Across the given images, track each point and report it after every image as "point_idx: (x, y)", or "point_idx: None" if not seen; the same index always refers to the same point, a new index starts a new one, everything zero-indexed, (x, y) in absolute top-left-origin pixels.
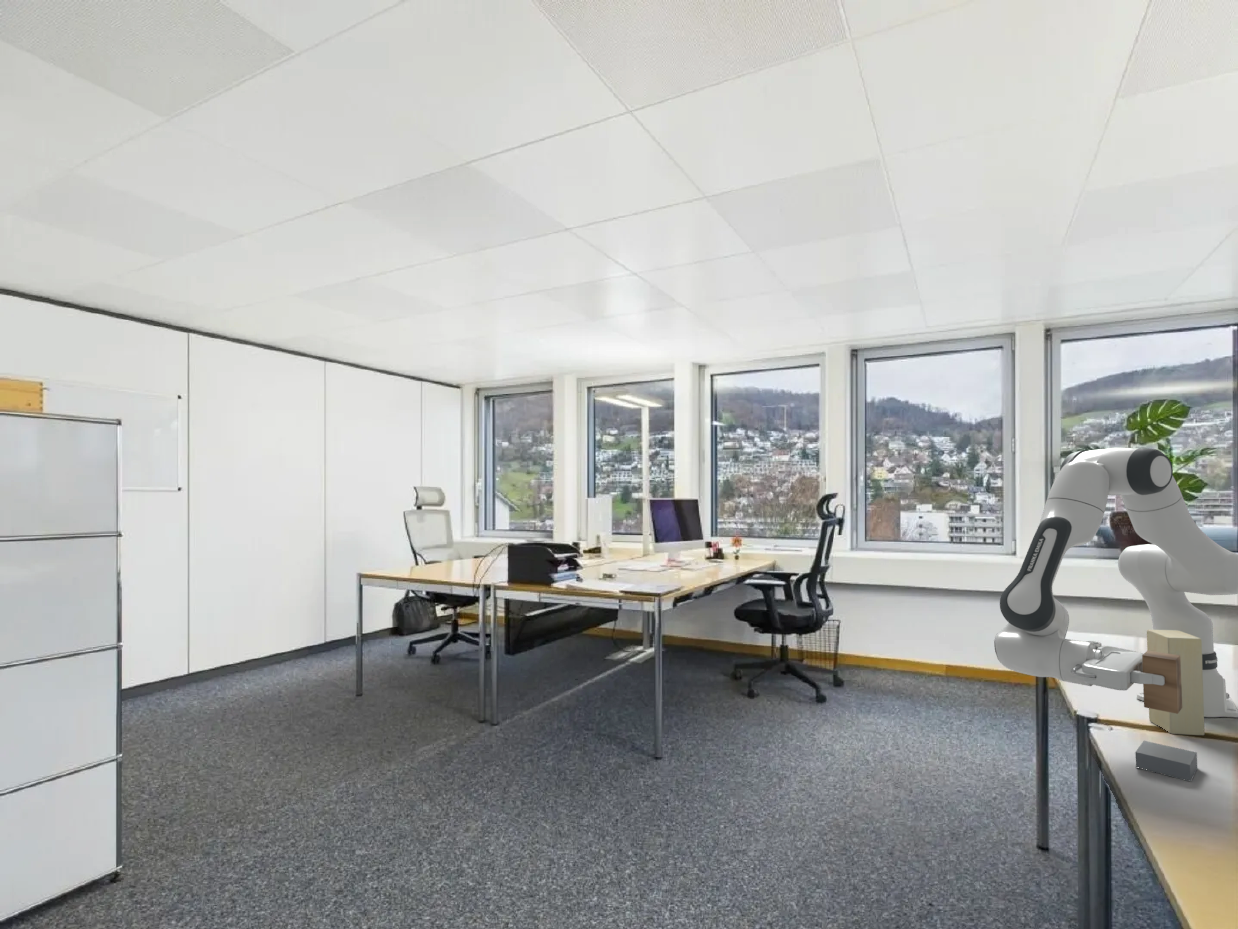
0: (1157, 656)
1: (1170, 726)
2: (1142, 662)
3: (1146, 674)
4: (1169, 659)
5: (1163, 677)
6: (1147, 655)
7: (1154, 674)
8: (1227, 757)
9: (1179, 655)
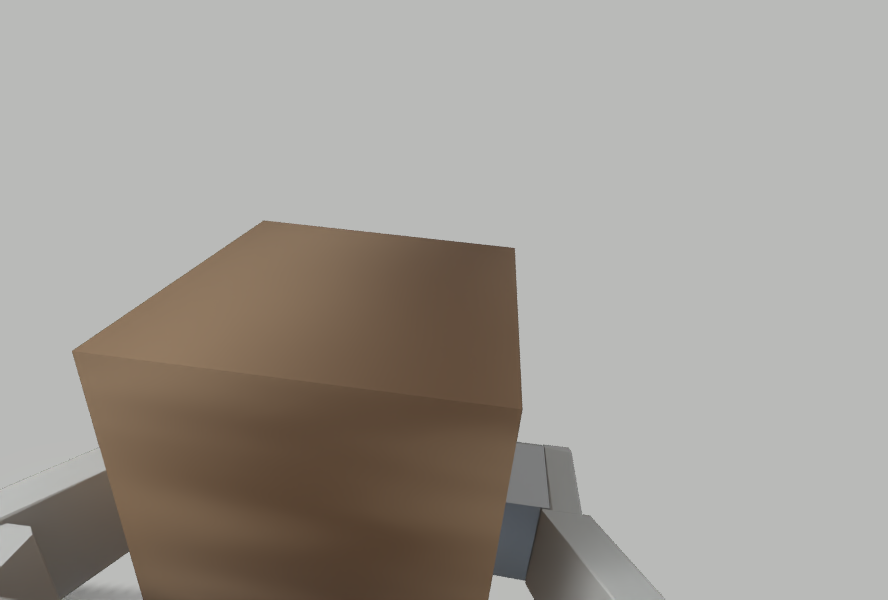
0: (453, 306)
1: None
2: (501, 504)
3: (629, 560)
4: (512, 267)
5: (566, 448)
6: (478, 364)
7: (561, 493)
8: (96, 590)
9: (273, 222)
